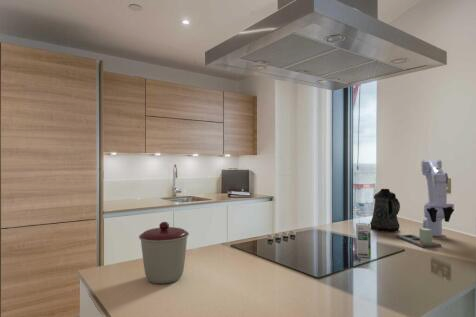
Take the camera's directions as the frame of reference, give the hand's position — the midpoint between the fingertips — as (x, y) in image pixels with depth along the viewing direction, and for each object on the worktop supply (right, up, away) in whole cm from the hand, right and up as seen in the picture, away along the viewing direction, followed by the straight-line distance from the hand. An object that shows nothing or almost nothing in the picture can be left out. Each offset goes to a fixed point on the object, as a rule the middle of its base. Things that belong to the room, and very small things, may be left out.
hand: (440, 221), depth 167 cm
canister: (-134, -12, -49) cm, 143 cm away
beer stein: (-15, -11, +28) cm, 34 cm away
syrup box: (-49, -11, -23) cm, 55 cm away
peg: (-11, -11, -6) cm, 17 cm away
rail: (-12, -11, 0) cm, 16 cm away
